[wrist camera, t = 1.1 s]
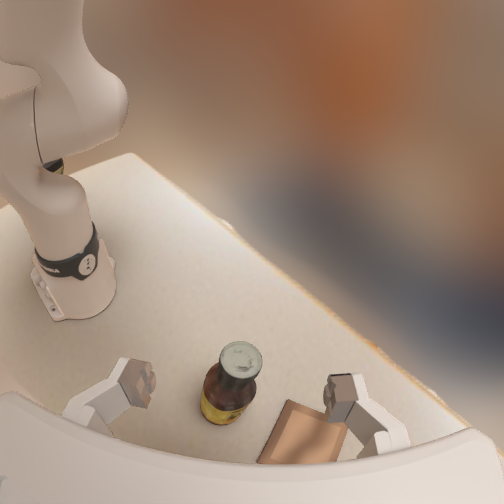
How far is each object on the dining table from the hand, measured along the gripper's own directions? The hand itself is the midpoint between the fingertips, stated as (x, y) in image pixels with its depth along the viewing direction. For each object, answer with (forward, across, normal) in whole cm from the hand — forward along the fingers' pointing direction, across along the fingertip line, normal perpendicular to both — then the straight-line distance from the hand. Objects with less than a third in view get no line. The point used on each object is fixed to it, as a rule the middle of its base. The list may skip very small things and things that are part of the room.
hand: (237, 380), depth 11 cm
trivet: (+12, -9, +32) cm, 35 cm away
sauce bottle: (+16, +5, +27) cm, 32 cm away
